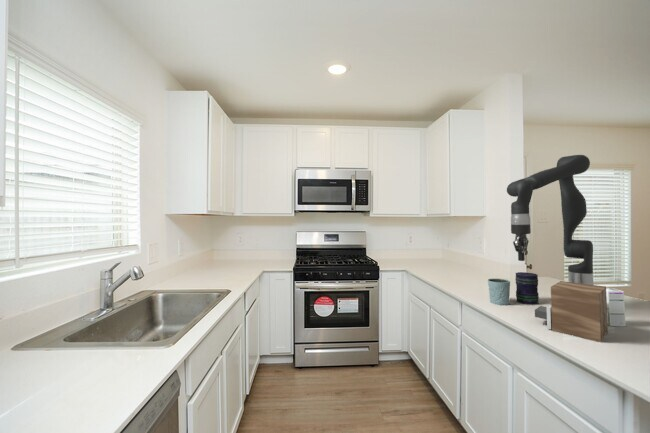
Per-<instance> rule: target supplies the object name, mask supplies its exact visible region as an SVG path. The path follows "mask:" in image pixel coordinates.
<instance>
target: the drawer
mask: <svg viewBox="0 0 650 433" xmlns="http://www.w3.org/2000/svg"><path fill="white" fill-rule="evenodd" d="M534 318H539V319H543V320H546V328H547V329H548V330H552V314H551V303H550V304H549V305H547V306H543V305H540V306H539V307H537V308H535V309H534Z"/></svg>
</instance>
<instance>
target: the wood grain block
mask: <svg viewBox="0 0 650 433" xmlns="http://www.w3.org/2000/svg"><path fill="white" fill-rule="evenodd" d="M606 288H607V286H605V285H597V284H596V285H594V284H593V285H589V284H581V283H573V282H569V281H562V280H559V282H556V283H555V284H553V285H550V304H551V314H552V329H551V331H552V332H556V333H559V334H563V333H564V334H563V335H569V336H572V335H573V337H576V338H577V337H578V338H581V339H585V340H589V341H594V342H596V343H597V342H598V343H601V342H602V341H603V340H604V338H605V337H606V335H607V333H608V324H607V298H606Z"/></svg>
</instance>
